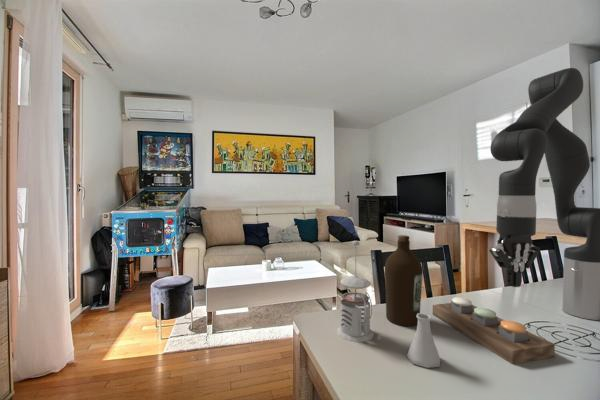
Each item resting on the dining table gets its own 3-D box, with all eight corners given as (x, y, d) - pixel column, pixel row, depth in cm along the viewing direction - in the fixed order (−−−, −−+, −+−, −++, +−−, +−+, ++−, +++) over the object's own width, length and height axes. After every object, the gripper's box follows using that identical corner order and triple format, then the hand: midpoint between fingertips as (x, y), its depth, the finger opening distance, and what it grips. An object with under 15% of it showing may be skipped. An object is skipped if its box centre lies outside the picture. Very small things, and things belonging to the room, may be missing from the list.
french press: (361, 321, 83) (362, 236, 82) (385, 341, 72) (386, 243, 71) (331, 326, 80) (331, 238, 79) (351, 348, 69) (351, 246, 68)
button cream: (462, 308, 87) (462, 296, 87) (475, 315, 82) (475, 302, 82) (448, 310, 86) (448, 297, 86) (461, 317, 81) (461, 304, 81)
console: (465, 310, 91) (465, 301, 91) (554, 357, 65) (554, 344, 65) (432, 314, 88) (432, 304, 88) (512, 364, 63) (512, 350, 63)
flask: (445, 371, 60) (446, 324, 60) (409, 367, 62) (410, 321, 61) (436, 352, 67) (436, 310, 67) (404, 349, 69) (404, 308, 68)
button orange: (511, 334, 72) (511, 319, 72) (531, 344, 67) (531, 328, 67) (495, 336, 71) (495, 321, 71) (514, 347, 66) (514, 331, 66)
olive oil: (379, 321, 83) (380, 236, 82) (389, 309, 92) (390, 232, 91) (418, 331, 77) (419, 240, 77) (424, 317, 86) (426, 235, 85)
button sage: (484, 320, 80) (484, 306, 79) (500, 328, 75) (500, 314, 75) (469, 322, 78) (469, 308, 78) (484, 330, 74) (485, 316, 73)
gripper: (522, 213, 73) (520, 279, 74) (479, 213, 70) (478, 283, 71) (554, 215, 66) (552, 289, 66) (508, 216, 63) (506, 293, 63)
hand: (513, 286), depth 68 cm, fingers closed
